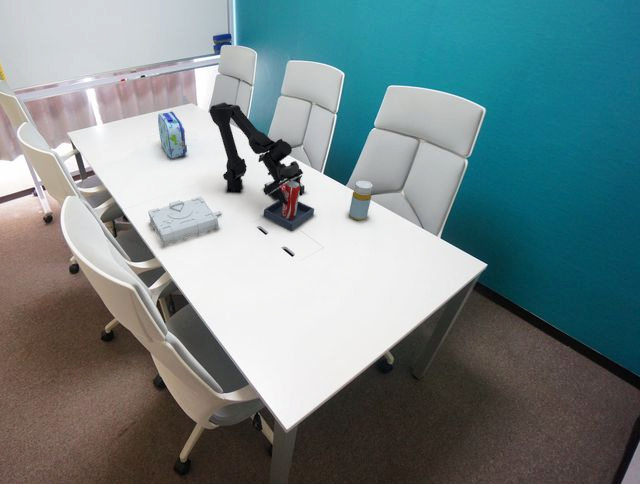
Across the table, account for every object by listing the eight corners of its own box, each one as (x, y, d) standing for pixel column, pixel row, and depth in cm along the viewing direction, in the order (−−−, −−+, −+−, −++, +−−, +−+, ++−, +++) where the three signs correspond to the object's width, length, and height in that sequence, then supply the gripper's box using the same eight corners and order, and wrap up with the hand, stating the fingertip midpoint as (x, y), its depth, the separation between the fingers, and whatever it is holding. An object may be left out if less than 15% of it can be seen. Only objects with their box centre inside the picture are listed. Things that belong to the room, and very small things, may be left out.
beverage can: (278, 215, 142) (280, 183, 133) (290, 210, 145) (293, 178, 136) (288, 222, 138) (290, 189, 129) (300, 216, 141) (303, 184, 132)
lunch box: (189, 158, 190) (185, 121, 178) (170, 162, 186) (164, 124, 174) (177, 141, 209) (172, 107, 197) (159, 145, 206) (154, 110, 194)
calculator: (264, 182, 158) (292, 174, 162) (264, 190, 161) (292, 182, 165) (275, 193, 150) (305, 184, 154) (275, 201, 152) (304, 192, 157)
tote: (263, 216, 142) (263, 209, 140) (285, 202, 151) (286, 195, 149) (291, 231, 134) (292, 223, 132) (313, 215, 142) (314, 208, 140)
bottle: (366, 213, 143) (374, 181, 134) (366, 222, 137) (373, 190, 129) (349, 210, 145) (355, 178, 136) (347, 219, 139) (354, 187, 131)
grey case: (231, 227, 137) (230, 211, 132) (162, 249, 126) (159, 232, 122) (211, 204, 151) (210, 189, 147) (148, 222, 141) (145, 206, 136)
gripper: (269, 165, 124) (292, 202, 124) (301, 149, 135) (322, 183, 134) (253, 177, 133) (274, 212, 133) (284, 161, 144) (303, 193, 144)
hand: (294, 199), depth 136 cm, fingers open, 9 cm apart
